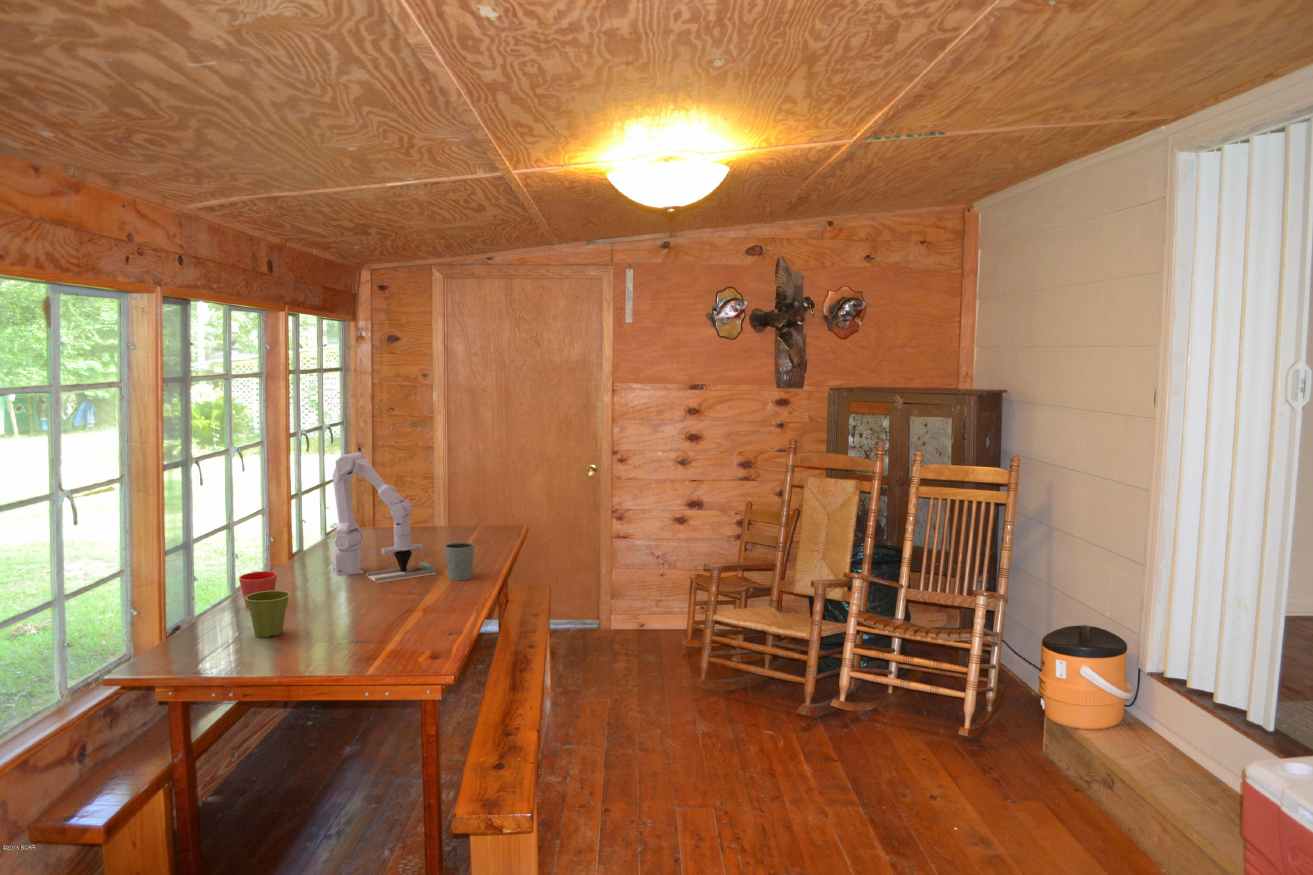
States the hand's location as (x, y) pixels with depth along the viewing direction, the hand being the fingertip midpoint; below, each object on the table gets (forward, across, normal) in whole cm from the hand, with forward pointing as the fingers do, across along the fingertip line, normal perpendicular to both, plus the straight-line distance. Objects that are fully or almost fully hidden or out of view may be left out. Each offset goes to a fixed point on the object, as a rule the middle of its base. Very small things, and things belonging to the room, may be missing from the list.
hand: (403, 571), depth 318 cm
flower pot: (+2, -51, -11) cm, 52 cm away
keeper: (+1, +4, 0) cm, 4 cm away
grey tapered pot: (+2, +15, -15) cm, 22 cm away
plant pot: (+2, -55, -44) cm, 70 cm away
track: (+2, -1, 0) cm, 2 cm away
